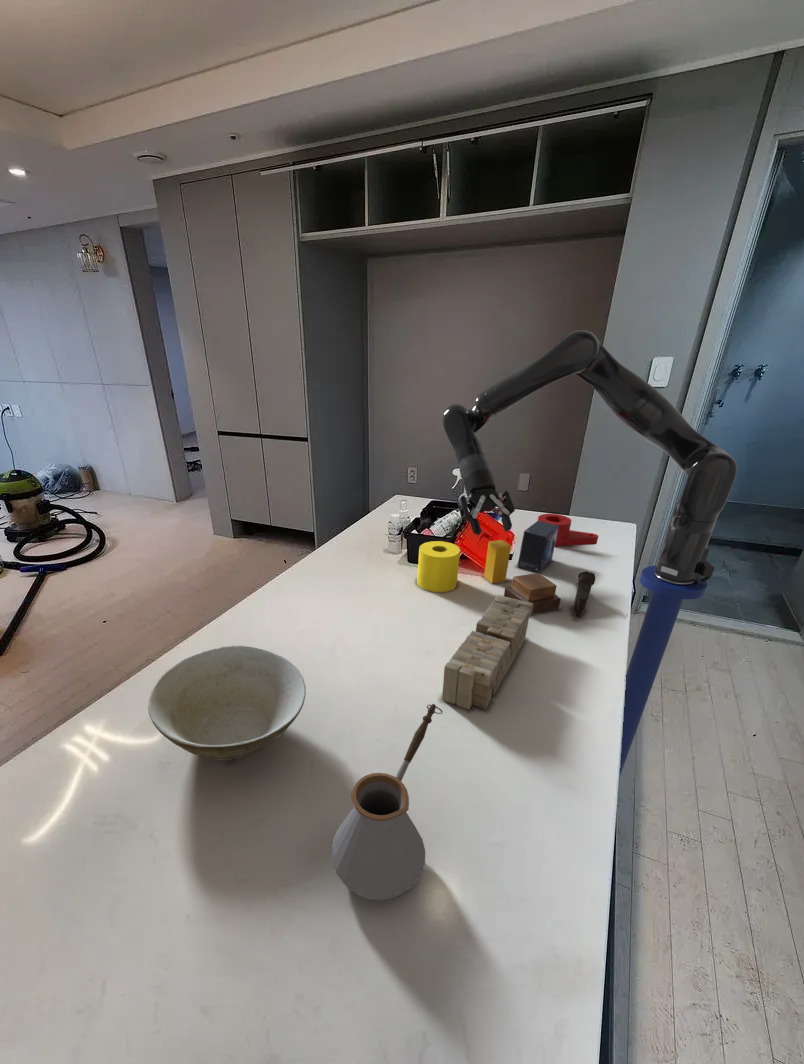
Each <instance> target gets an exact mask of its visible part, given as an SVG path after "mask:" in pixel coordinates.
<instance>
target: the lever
mask: <svg viewBox="0 0 804 1064" xmlns="http://www.w3.org/2000/svg"><path fill="white" fill-rule="evenodd" d="M537 521H542V522H546V523H549V524H554V525H558V526H559V529H558V533H557V538H556V542H555V547H561V546H564V547H565V546H591V545H592V546H593V545H594V546H595V545H597V543H598V540H599V535H598V534H596V533H592V532H586V531H585V532H584V531H578V530H571V526H572V519H571V518H570V517H568V516H566V515H562V514H557V513H543V514H540V515H538V517H537Z"/></svg>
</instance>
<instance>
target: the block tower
mask: <svg viewBox="0 0 804 1064" xmlns="http://www.w3.org/2000/svg"><path fill="white" fill-rule="evenodd" d="M532 609H533V603H529V602H525V601H521V600H516V599H512V598H508V597H504V595H499V594H498V595H496V596H495V599H494V600H493V601H492V603H491V604H490V605H489V607H488V608H487V609H486V611H485V612H484V613H483V615H482V617H481V618H480V619H478V621H477V622H476V624H475V625H476V626H475V630H472V631H471V632H470V633H469V634H468V635H467V636H466V638H465V640H464V641H463V642H462V643H461V644H460V645H459V646H458V647H457V650H456V651H455V653H454V654H452V656H451V658H450V659H449V660H448V661H447V662H446V663H445V664H444V668H443V669H444V671H443V681H442V693H441V700H442V701H444V702H447V703H450V704H454V705H456V706H457V707H461V708H462V709H463V708H464V709H466V710H470V709H471V707H472V706H476V707H478V708H481V709H484V710H486V709H488V706H489V704H490V702H491V700H492V696H494V695H495V694H496V691H498V689H499V687H500V685H501V682H503V680H504V678H505V677H506V674H507V673H508V671H509V670H510V668H511V666H512V664H513V663H514V660H515V658H516V657H517V655H518V653H519V651H520V649H521V647H522V645H523V643H524V641H525V640H526V635H527V632H528V626H529V619H530V617H531V615H533V614H532Z"/></svg>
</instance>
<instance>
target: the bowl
mask: <svg viewBox="0 0 804 1064" xmlns="http://www.w3.org/2000/svg"><path fill="white" fill-rule="evenodd" d="M150 692H151V693H150V695H149V699H148V705H147V711H148V715H149V719H150V720H151V723H152V724H153V726H154V727H155V729H156V730H158V732H159V733H160V734H161V735H163V736H164V738H165V739H167V740H168V741H170V742H171V743H173V744H174V745H176V746H178V747H179V748H181V749H183V750H184V751H186V752H187V753H190V754H193V755H195V756H197V757H201V758H206V759H210V760H217V761H231V760H237V759H241V758H245V757H248V756H250V755H253V754H255V753H258V752H259V751H262V749H264V748H265V747H268V746H269V745H270V744H272V743H273V742H274V741H275V740H276V739H278V738H279V737H280V736H281V735H283V734H284V733H285V731H287V729H288V728H289V727H290V726H291V725H292V724H293V722H294V721H295V720H296V718H298V716H299V714H300V713H301V711H302V709H303V707H304V704H305V699H306V694H307V688H306V684H305V680H304V677H303V675H302V673H301V672H300V670H299V668H298V667H296V665H294V664H293V662H291V661H290V660H288V659H287V658H285V657H283V656H282V655H279V654H277V653H274V652H272V651H270V650H267V649H263V648H258V647H254V646H247V645H230V646H222V647H218V648H212V649H207V650H205V651H202V652H200V653H197V654H193V655H191V656H188V657H186V658H184V659H182V660H180V661H179V662H177V663H176V664H175V665H173V666H171V668H169V669H167V671H165V672H164V673H163V674H162V675H161V676H160V678H159V679H158V680H157V682H156V683H155V685H154V686H153V688H152V689H151V691H150Z"/></svg>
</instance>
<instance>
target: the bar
mask: <svg viewBox="0 0 804 1064" xmlns="http://www.w3.org/2000/svg"><path fill="white" fill-rule="evenodd" d="M511 549H512V545H511V544H509V543H508V542H507V541H505V540H504V539H498V540H489V541H488V543H487V550H486V558H485V565H484V572H483V577H484V578H485V579H486V580H487V581H488V582H489V583H491V584H498V583H504V582H506V579H507V574H508V567H509V562H510V555H511Z"/></svg>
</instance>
